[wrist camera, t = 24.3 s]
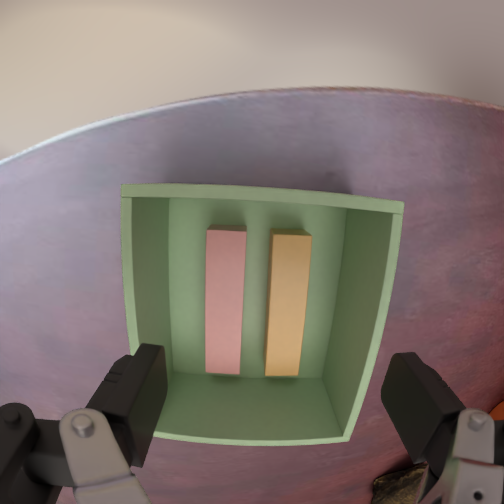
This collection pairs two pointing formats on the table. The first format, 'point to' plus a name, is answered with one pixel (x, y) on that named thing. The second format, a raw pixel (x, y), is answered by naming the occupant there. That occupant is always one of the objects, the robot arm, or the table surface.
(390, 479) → the seashell
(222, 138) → the table surface
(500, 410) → the cup with straw
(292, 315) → the mustard wooden beam
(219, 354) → the pink stick
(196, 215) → the bin
